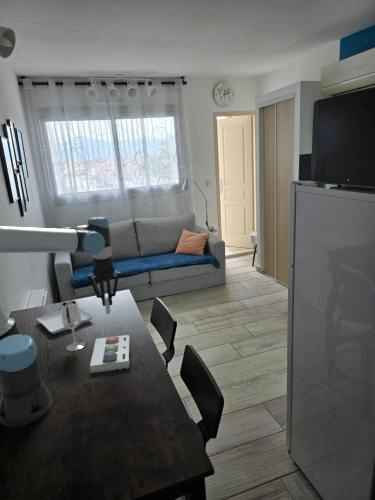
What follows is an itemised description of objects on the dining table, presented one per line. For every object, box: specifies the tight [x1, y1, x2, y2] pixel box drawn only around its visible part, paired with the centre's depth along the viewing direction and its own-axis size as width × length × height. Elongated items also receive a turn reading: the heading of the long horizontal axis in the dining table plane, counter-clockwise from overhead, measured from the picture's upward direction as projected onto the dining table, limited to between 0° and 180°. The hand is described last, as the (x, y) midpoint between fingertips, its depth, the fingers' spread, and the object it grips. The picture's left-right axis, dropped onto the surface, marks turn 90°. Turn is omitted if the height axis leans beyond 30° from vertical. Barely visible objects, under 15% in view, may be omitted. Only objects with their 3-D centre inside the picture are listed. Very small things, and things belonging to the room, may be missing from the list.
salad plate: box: [36, 306, 94, 334], centre depth 161 cm, size 21×21×3 cm
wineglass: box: [61, 300, 86, 352], centre depth 136 cm, size 8×8×20 cm
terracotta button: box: [106, 335, 118, 345], centre depth 136 cm, size 4×4×3 cm
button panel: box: [89, 334, 131, 374], centre depth 130 cm, size 20×14×3 cm
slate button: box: [104, 350, 116, 363], centre depth 123 cm, size 4×4×3 cm
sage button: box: [105, 344, 117, 352], centre depth 130 cm, size 4×4×3 cm
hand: (108, 312), depth 132 cm, fingers closed
